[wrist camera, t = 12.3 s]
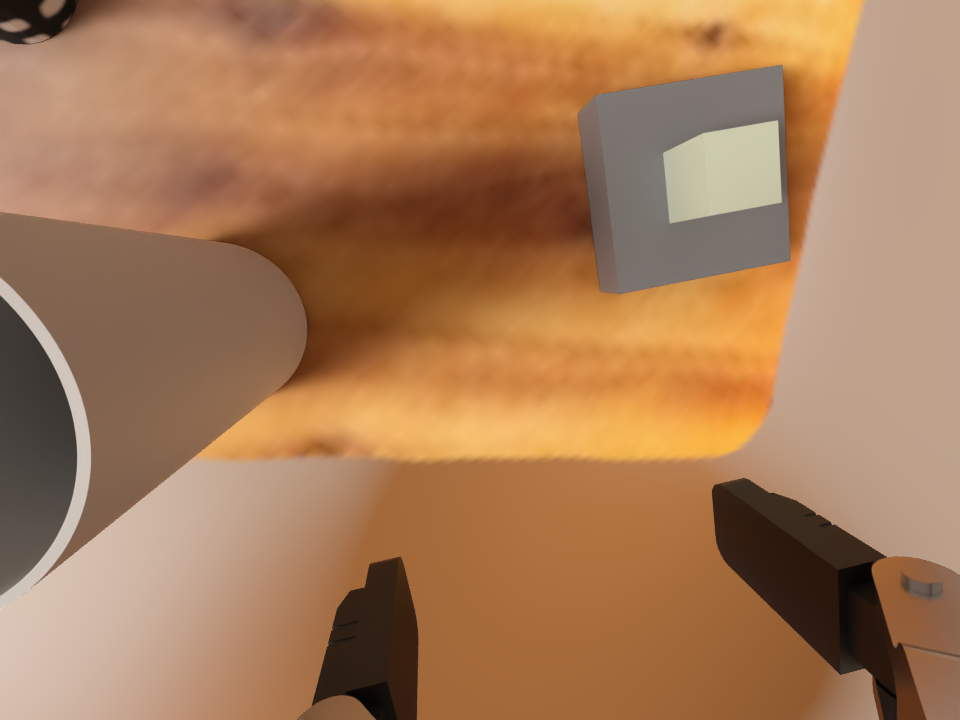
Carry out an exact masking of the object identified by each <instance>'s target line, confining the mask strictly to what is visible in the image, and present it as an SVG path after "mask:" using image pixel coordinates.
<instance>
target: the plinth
mask: <svg viewBox="0 0 960 720" xmlns="http://www.w3.org/2000/svg"><path fill="white" fill-rule="evenodd" d="M578 120H579V128H580V136H581V144H582V152H583V160H584V167H585V175H586V183H587V191H588V199H589V207H590V215H591V223H592V231H593V239H594V247H595V255H596V262H597V270H598V278H599V286H600V292H607V293H615V294H622V293H627V292H632V291H638V290H643V289H648V288H653V287H658V286H663V285H668V284H673V283H679V282H684V281H689V280H694V279H699V278H704V277H709V276H714V275H720V274H725V273H730V272H735V271H740V270H745V269H750V268H755V267H761V266H766V265H771V264H776V263H781V262H786V261H791V257H790V233H789V209H788V185H787V161H786V136H785V112H784V88H783V65H778V66H772V67H766V68H760V69H753V70H747V71H741V72H735V73H728V74H722V75H716V76H710V77H704V78H697V79H691V80H685V81H679V82H673V83H666V84H660V85H654V86H648V87H641V88H635V89H629V90H623V91H617V92H610V93H604V94H598V95H595V96H594V97H593V98H592V99H591V100H590V101H589V102H588V103H587V105H586V106H585V107H584V108H583V109H582V110H581V111H580V112H579V113H578ZM777 120H778V131H779V153H780V175H781V197H782V203H776V204H771V205H766V206H761V207H755V208H750V209H745V210H740V211H734V212H729V213H724V214H718V215H713V216H708V217H702V218H697V219H692V220H686V221H681V222H675V223H670V222H669V211H668V200H667V190H666V179H665V169H664V158H663V153H664V152H666V151H668V150H670V149H672V148H674V147H676V146H678V145H680V144H682V143H684V142H686V141H688V140H690V139H692V138H694V137H696V136H698V135H700V134H702V133H707V132H713V131H719V130H725V129H730V128H736V127H742V126H748V125H754V124H759V123H765V122H771V121H777Z"/></svg>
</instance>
